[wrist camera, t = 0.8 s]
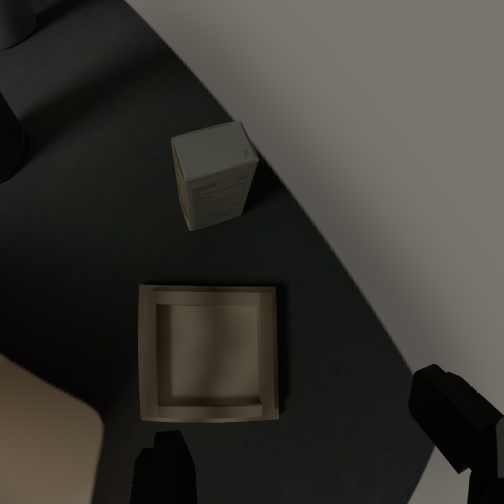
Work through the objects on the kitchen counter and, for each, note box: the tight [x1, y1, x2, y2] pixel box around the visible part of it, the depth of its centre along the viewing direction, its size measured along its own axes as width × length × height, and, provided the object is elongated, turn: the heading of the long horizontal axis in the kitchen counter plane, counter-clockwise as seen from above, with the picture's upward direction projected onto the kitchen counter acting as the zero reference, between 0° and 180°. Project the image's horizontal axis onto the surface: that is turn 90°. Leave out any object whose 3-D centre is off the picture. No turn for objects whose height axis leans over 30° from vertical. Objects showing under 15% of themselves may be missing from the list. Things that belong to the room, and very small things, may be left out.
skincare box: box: [171, 121, 259, 231], centre depth 30 cm, size 6×4×12 cm
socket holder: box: [138, 285, 279, 422], centre depth 30 cm, size 14×14×2 cm
